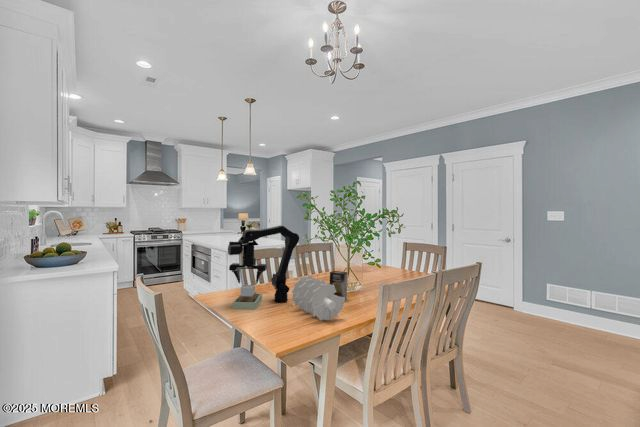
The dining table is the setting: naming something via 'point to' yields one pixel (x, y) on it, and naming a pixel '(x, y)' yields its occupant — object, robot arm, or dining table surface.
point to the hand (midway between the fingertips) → (248, 283)
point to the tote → (247, 303)
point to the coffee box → (339, 283)
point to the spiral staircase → (317, 298)
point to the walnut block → (247, 298)
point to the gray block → (247, 290)
